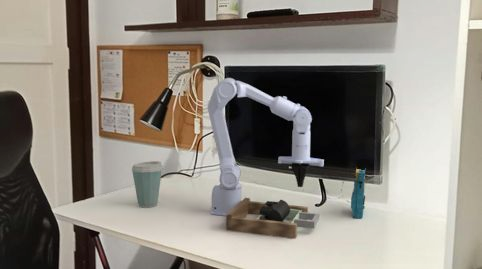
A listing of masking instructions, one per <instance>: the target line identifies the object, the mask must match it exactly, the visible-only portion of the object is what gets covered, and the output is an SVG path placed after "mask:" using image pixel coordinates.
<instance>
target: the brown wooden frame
mask: <svg viewBox="0 0 482 269" xmlns="http://www.w3.org/2000/svg"><path fill="white" fill-rule="evenodd" d="M265 203H266V202H263V201H254V200H251V198H250V197H244V198H243V199H241V202H240V203H239V204H238V205H236V206H235V207H234V208H233V209H232V210H231V211H230V212H228V213H227V214H226V217H225V220H226V221H225V222H226V224H225V225H226V228H225V229H226V230H225V231H227V232H228V231H229V232H237V233H245V234H254V235H263V236H269V235H272V236H271V237H278V236H279V238H286V237H287V238H286V239H294V238H295V239H296V238H297V237H298V235H297V234H298V233H297V232H298V227H297V223H291V222H286V221H283V222H279V221H270V220H261V219H257V218H252V217H251V218H250V217H247V216H248V215H251V216H259V215H260V208H261V207H262V206H267V205H265ZM288 205H289V208H290V209H294V210H302V212H308V213H309V206H302V205H293V204H288ZM267 207H269V206H267ZM302 220H305V219H302Z"/></svg>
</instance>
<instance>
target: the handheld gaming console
mask: <svg viewBox="0 0 482 269" xmlns="http://www.w3.org/2000/svg"><path fill="white" fill-rule="evenodd" d="M355 176H356V178H354V182H353V191H352V194H351V199H350V209H351V214H352V218H355V219H358V220H362V218H364V210H365V208H366V205H365V202H366V195H365V189H366V188H365V186H366V185H365V183H366V182H365V183H364V179H365V180H366V169H365V170H361V169H357V168H356V170H355Z"/></svg>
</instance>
